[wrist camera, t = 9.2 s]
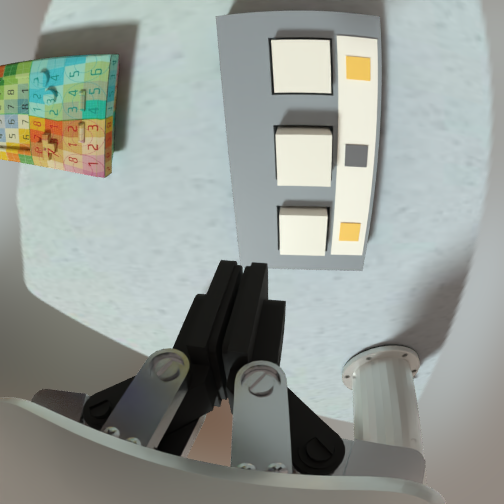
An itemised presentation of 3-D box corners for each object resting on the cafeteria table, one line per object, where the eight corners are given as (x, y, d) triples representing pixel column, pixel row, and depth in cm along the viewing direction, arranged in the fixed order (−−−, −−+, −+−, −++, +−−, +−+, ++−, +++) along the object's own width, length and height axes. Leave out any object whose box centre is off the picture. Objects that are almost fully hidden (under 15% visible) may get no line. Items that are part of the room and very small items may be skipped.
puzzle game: (100, 181, 25) (-17, 160, 25) (123, 163, 29) (7, 146, 29) (105, 55, 18) (-22, 71, 18) (132, 53, 22) (6, 63, 22)
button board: (371, 21, 18) (380, 15, 15) (358, 253, 31) (362, 272, 28) (224, 20, 20) (214, 15, 17) (245, 249, 33) (240, 269, 30)
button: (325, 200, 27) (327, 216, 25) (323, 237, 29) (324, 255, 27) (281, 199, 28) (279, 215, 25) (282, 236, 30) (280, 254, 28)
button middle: (328, 126, 22) (332, 135, 20) (327, 172, 25) (330, 186, 22) (278, 126, 23) (275, 134, 21) (279, 171, 25) (277, 185, 23)
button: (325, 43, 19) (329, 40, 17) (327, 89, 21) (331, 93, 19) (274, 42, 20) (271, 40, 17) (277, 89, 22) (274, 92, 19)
